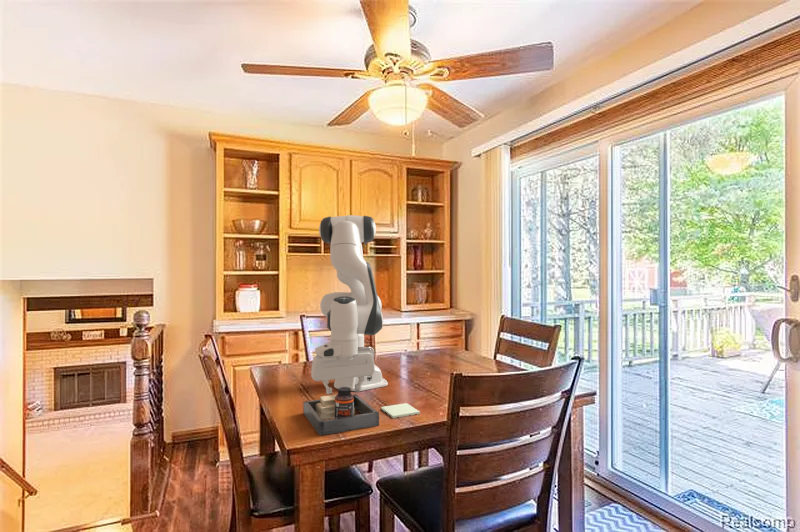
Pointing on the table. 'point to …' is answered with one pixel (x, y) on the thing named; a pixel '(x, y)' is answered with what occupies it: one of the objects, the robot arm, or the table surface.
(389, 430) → the table surface
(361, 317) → the robot arm
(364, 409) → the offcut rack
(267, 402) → the table surface
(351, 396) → the supplement bottle
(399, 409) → the mat
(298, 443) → the table surface
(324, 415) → the offcut stack
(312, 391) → the table surface
